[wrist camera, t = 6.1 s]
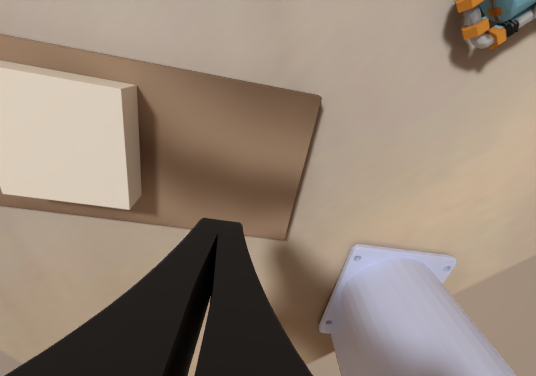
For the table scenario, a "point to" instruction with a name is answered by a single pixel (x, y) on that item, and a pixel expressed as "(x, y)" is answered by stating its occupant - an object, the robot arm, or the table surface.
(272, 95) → the board
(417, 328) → the robot arm
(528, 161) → the table surface
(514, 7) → the flamethrower
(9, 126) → the tile
